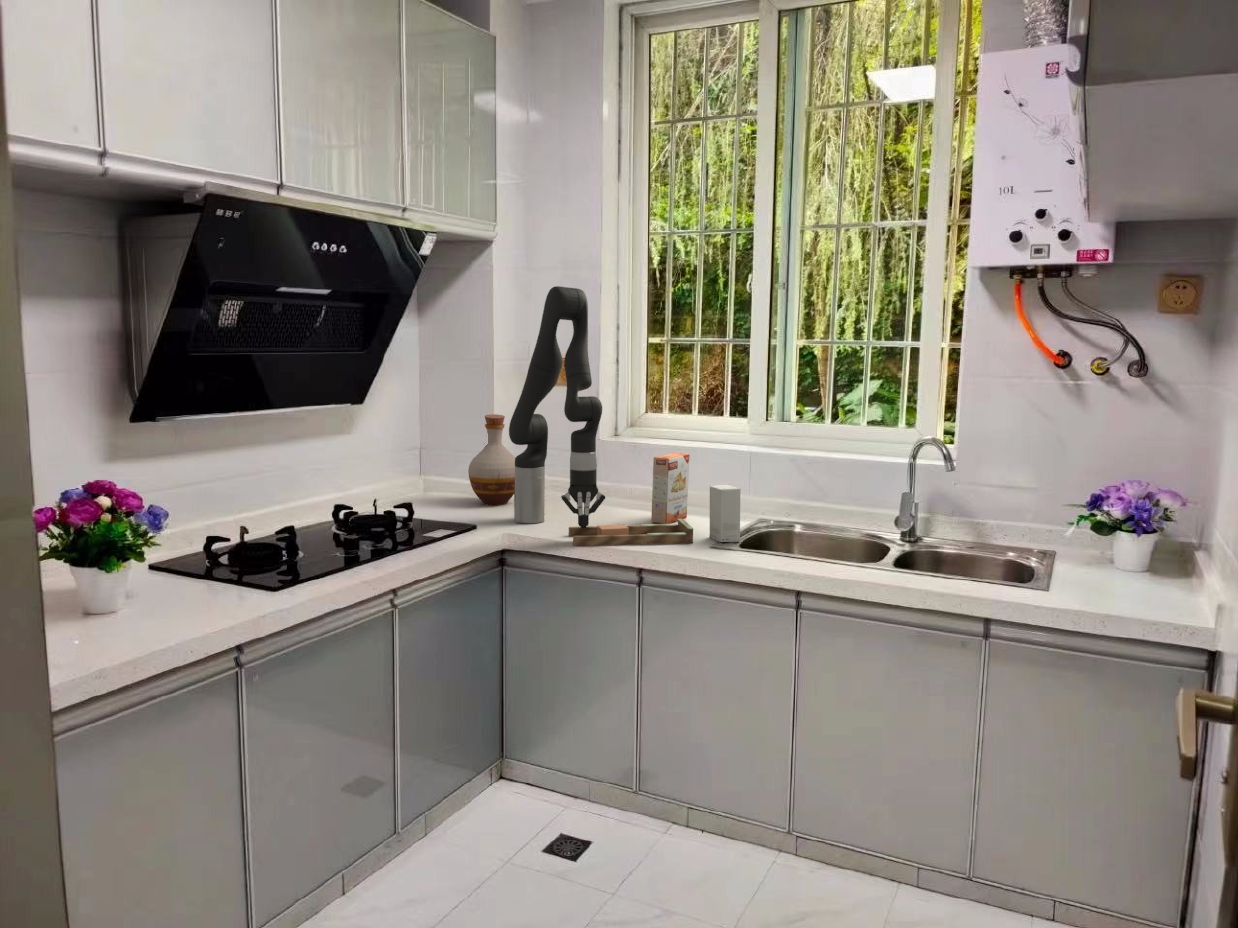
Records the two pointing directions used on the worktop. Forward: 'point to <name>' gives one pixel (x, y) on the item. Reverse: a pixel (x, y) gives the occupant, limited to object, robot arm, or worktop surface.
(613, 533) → the terracotta block
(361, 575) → the worktop surface
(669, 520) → the cracker box
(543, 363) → the robot arm
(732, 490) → the skincare box
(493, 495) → the jug
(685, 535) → the track
